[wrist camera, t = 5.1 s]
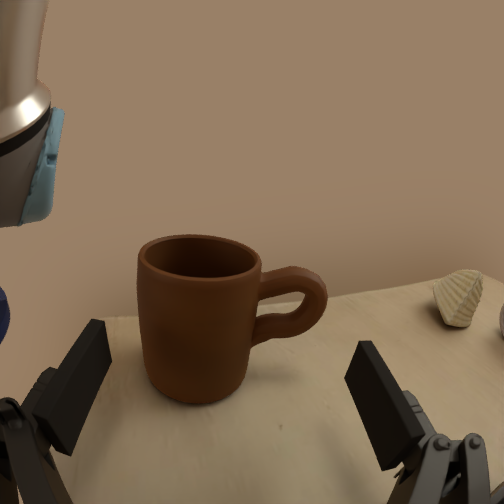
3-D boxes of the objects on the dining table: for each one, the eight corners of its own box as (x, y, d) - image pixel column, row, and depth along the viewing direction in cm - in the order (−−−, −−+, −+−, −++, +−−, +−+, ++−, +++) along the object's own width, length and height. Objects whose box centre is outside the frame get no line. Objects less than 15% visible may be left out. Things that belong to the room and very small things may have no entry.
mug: (297, 349, 24) (321, 247, 21) (310, 416, 17) (354, 298, 14) (159, 333, 24) (157, 228, 20) (132, 396, 16) (113, 270, 13)
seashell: (481, 298, 32) (502, 291, 25) (448, 341, 33) (465, 343, 26) (447, 262, 36) (463, 249, 29) (414, 305, 37) (424, 300, 30)
